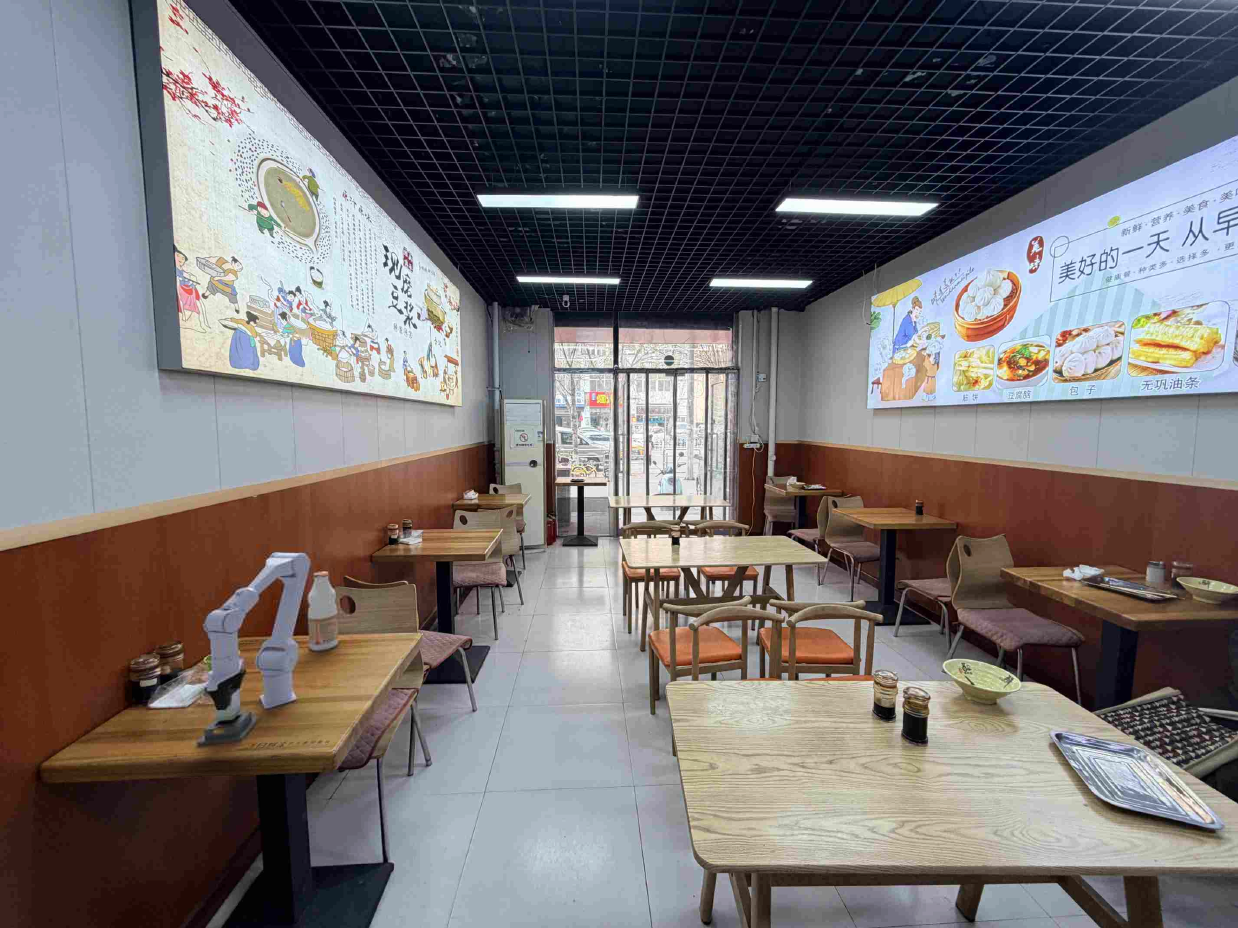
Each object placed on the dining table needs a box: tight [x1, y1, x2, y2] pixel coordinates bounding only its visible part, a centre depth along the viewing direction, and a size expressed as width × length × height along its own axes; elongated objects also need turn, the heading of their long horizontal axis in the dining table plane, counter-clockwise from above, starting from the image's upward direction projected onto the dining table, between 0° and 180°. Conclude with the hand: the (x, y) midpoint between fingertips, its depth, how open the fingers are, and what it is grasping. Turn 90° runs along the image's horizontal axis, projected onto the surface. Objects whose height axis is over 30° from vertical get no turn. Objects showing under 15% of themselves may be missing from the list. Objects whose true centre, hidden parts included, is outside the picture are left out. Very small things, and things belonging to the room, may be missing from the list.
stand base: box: [196, 710, 260, 747], centre depth 138 cm, size 10×10×4 cm
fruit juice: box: [307, 571, 339, 651], centre depth 193 cm, size 9×9×28 cm
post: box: [214, 688, 242, 721], centre depth 137 cm, size 4×4×6 cm
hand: (227, 703), depth 137 cm, fingers open, 5 cm apart
